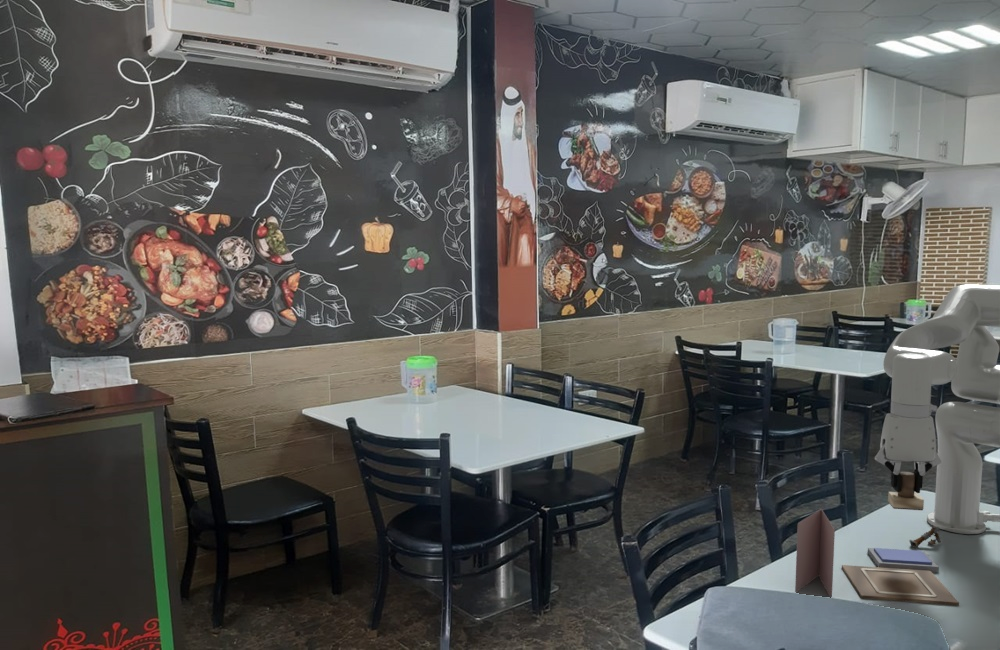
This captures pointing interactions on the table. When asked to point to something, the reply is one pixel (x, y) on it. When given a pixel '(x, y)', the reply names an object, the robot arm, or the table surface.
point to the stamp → (906, 494)
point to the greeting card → (815, 551)
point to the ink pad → (902, 559)
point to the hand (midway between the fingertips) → (906, 489)
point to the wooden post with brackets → (925, 536)
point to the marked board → (898, 585)
